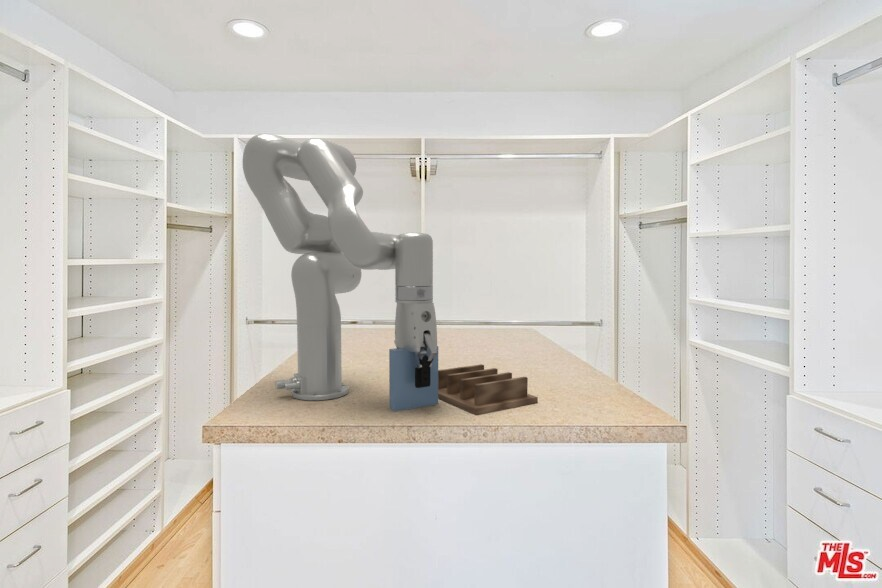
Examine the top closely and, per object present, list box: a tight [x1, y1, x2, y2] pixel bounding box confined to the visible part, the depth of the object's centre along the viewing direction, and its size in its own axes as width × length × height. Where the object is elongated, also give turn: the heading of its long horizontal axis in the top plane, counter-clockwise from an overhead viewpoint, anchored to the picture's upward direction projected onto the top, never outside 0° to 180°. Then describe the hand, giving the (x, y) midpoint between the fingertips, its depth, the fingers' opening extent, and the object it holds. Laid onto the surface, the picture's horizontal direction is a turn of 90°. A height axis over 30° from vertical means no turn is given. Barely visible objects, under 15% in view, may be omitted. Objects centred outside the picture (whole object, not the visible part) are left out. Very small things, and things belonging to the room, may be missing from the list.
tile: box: [388, 345, 439, 412], centre depth 100 cm, size 10×2×12 cm, turn 122°
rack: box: [438, 363, 539, 416], centre depth 106 cm, size 16×19×5 cm
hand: (414, 382), depth 100 cm, fingers open, 6 cm apart
